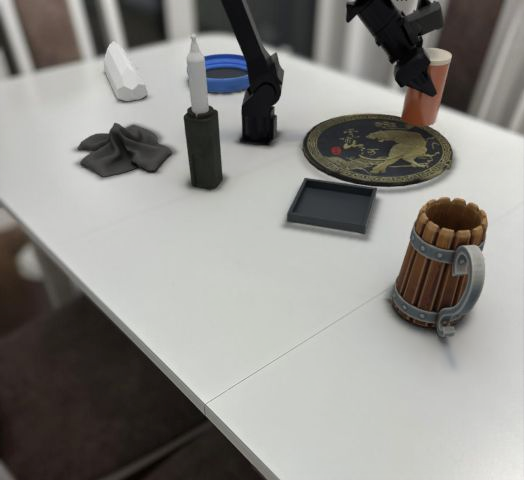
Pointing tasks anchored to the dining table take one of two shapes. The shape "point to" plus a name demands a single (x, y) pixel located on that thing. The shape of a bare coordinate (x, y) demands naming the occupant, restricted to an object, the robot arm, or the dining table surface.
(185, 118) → the candle
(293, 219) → the dark gray rectangular tray
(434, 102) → the cup
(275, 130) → the robot arm
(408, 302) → the mug
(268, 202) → the dining table surface
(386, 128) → the decorative plate
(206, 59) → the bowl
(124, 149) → the cloth
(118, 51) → the crystal
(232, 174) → the dining table surface
